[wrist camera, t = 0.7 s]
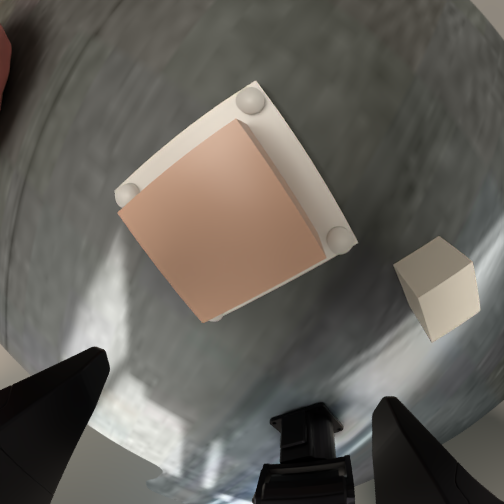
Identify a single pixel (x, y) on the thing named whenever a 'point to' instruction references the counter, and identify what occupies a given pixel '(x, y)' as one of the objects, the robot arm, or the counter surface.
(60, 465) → the robot arm
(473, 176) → the counter surface
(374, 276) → the counter surface
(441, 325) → the cream brick
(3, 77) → the cell model
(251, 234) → the base plate
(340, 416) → the counter surface
